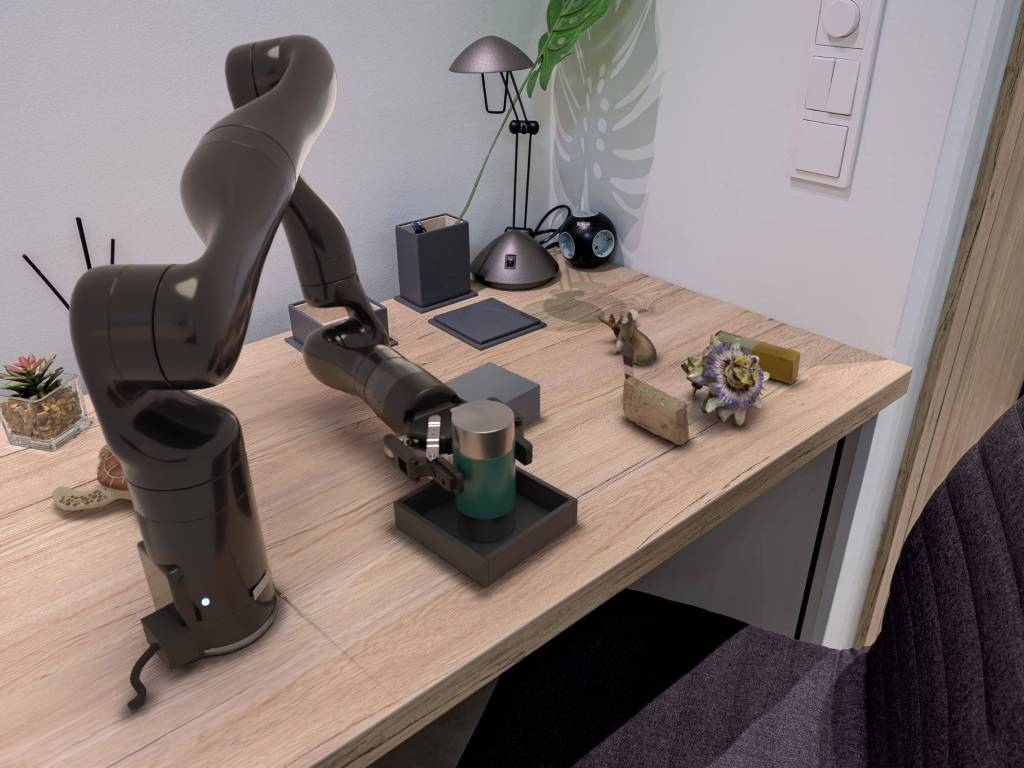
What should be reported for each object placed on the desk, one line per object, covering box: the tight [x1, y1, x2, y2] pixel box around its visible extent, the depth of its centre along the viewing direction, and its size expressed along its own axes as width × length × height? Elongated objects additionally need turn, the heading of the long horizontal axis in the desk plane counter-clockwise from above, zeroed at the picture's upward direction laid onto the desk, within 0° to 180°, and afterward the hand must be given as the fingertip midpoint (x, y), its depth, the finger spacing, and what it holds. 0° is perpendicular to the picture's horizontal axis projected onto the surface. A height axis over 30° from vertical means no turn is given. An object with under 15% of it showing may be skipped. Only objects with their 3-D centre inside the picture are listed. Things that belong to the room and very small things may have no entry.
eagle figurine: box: [596, 308, 658, 367], centre depth 118 cm, size 8×7×9 cm
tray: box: [392, 464, 579, 589], centre depth 84 cm, size 13×13×4 cm
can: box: [451, 400, 516, 543], centre depth 81 cm, size 6×6×13 cm
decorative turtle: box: [52, 444, 132, 511], centre depth 91 cm, size 18×17×5 cm
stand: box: [443, 361, 541, 427], centre depth 102 cm, size 9×9×5 cm
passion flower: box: [680, 334, 770, 427], centre depth 103 cm, size 11×11×12 cm
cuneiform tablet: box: [621, 353, 690, 447], centre depth 100 cm, size 7×4×12 cm
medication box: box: [713, 329, 801, 385], centre depth 113 cm, size 12×3×4 cm, turn 50°
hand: (496, 470), depth 79 cm, fingers open, 7 cm apart
